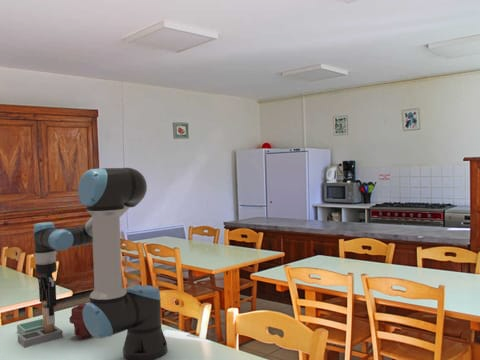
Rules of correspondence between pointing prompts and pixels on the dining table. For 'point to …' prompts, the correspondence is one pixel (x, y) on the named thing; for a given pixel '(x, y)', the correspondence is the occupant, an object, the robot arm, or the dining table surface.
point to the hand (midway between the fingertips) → (48, 322)
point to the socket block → (38, 337)
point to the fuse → (49, 327)
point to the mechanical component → (79, 322)
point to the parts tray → (30, 326)
